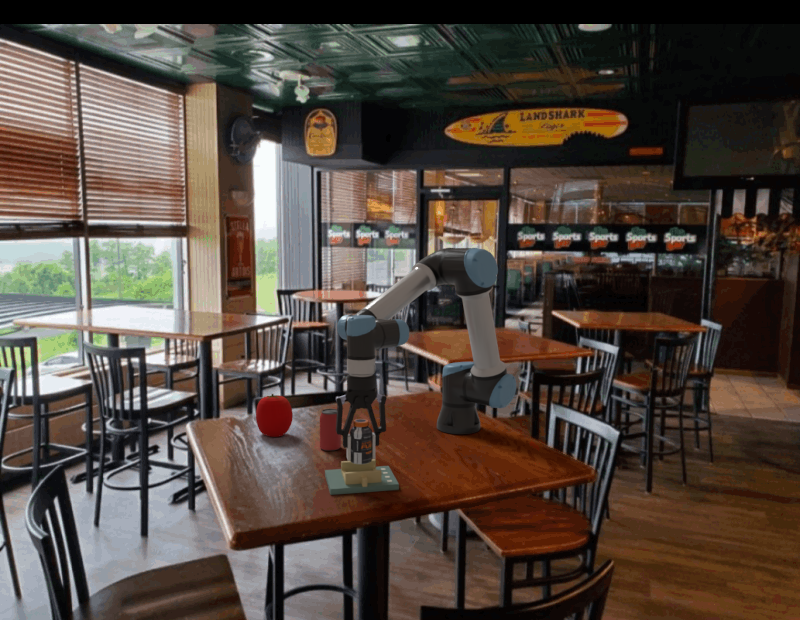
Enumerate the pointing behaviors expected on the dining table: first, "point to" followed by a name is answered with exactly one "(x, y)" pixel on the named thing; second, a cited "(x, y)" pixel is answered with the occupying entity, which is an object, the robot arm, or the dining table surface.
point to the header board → (360, 478)
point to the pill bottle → (361, 442)
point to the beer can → (329, 430)
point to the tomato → (274, 415)
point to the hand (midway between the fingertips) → (360, 458)
